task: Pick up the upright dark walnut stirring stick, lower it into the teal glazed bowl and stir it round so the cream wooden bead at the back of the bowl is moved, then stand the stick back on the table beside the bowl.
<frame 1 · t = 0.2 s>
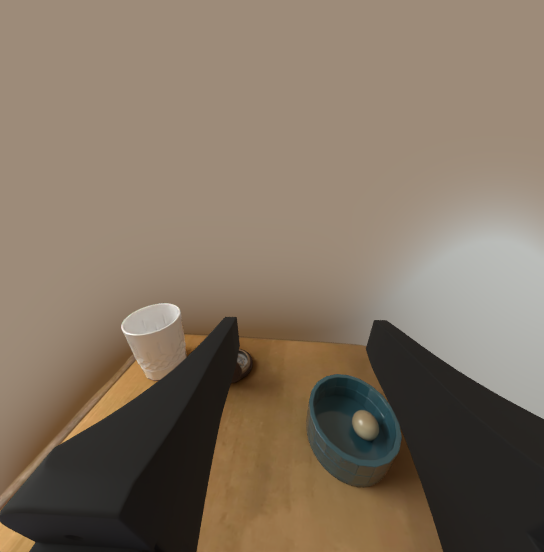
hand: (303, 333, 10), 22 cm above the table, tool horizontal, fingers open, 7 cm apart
bead: (362, 431, 25), point 1 cm above the table, touching bowl
white cup: (166, 364, 34), on the table
compass: (227, 369, 34), on the table
bowl: (345, 432, 25), on the table
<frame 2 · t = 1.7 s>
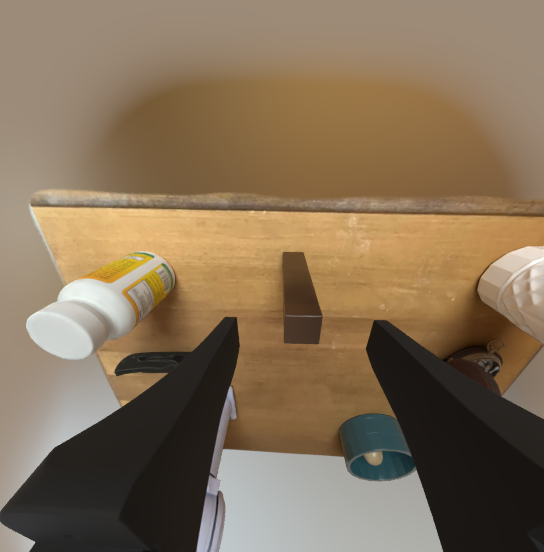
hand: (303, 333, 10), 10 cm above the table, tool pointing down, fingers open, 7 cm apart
bead: (368, 441, 33), point 1 cm above the table, touching bowl
folding knife: (163, 352, 26), on the table
white cup: (512, 276, 19), on the table
compass: (464, 355, 24), on the table
stirring stick: (292, 261, 20), on the table
bowl: (369, 430, 32), on the table
supplement bottle: (152, 272, 21), on the table
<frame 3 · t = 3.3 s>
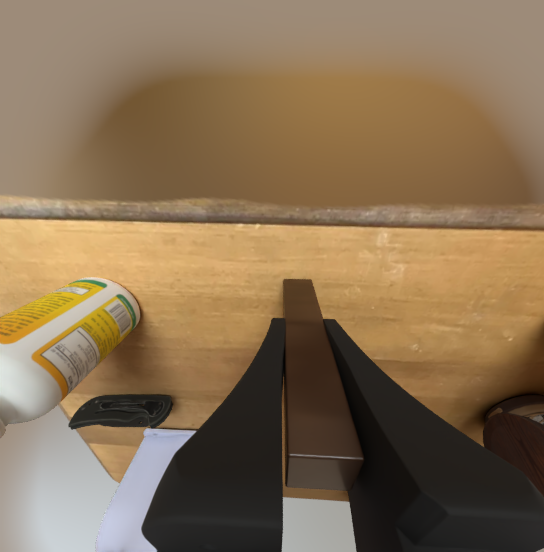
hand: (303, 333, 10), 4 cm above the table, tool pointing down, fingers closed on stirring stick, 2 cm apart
folding knife: (134, 394, 21), on the table
compass: (514, 402, 19), on the table
stirring stick: (296, 291, 14), on the table, touching gripper
supplement bottle: (110, 302, 16), on the table
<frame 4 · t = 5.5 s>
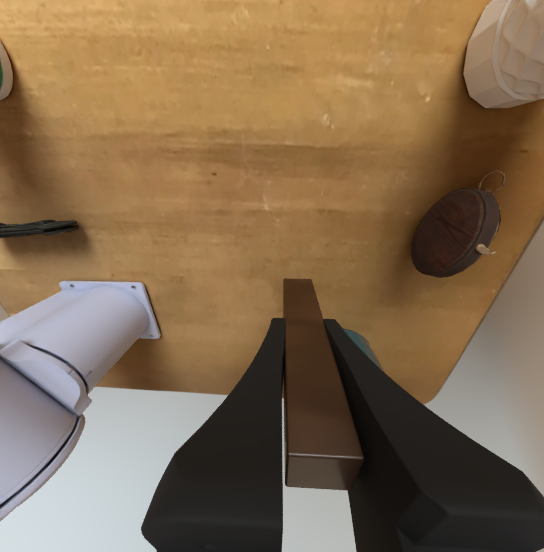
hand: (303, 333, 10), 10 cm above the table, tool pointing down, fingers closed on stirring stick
folding knife: (40, 225, 19), on the table
white cup: (517, 44, 13), on the table
compass: (448, 218, 18), on the table
stirring stick: (296, 290, 14), point 6 cm above the table, touching gripper
bowl: (331, 357, 26), on the table
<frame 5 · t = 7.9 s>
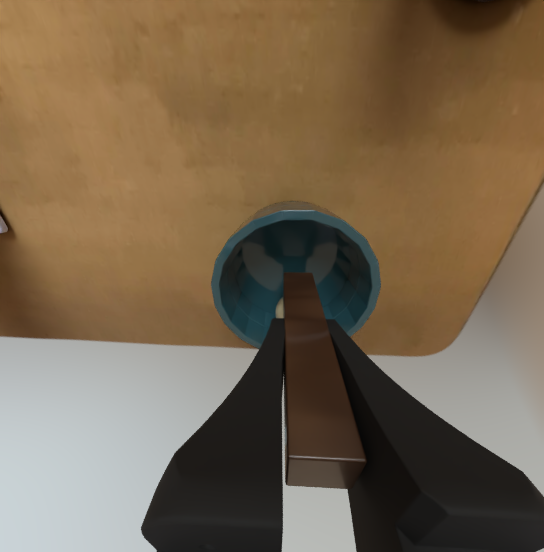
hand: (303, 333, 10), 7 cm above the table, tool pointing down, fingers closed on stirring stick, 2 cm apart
bead: (296, 294, 16), point 1 cm above the table, tilted 36°, touching bowl
stirring stick: (297, 284, 14), point 2 cm above the table, touching gripper
bowl: (290, 266, 16), on the table
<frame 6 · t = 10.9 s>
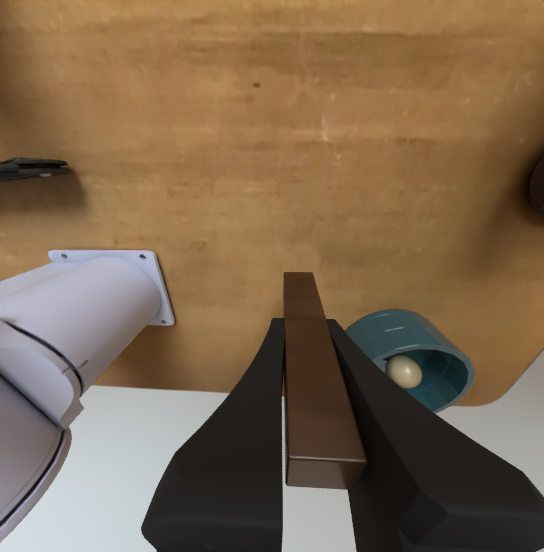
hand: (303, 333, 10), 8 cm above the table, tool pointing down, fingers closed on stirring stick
bead: (389, 368, 21), point 1 cm above the table, tilted 47°, touching bowl
folding knife: (20, 172, 15), on the table
stirring stick: (297, 284, 14), point 3 cm above the table, touching gripper
bowl: (384, 347, 21), on the table
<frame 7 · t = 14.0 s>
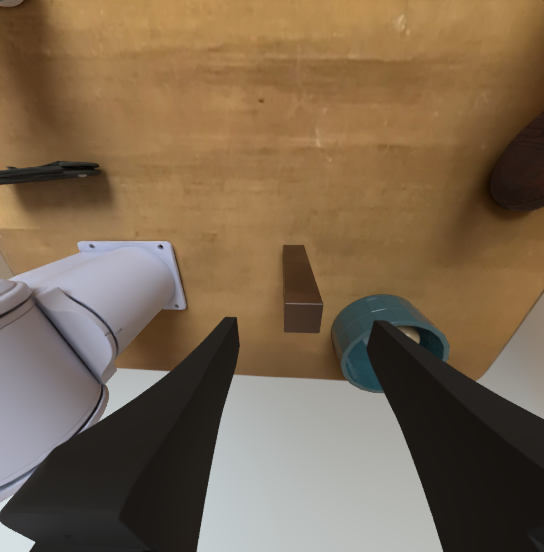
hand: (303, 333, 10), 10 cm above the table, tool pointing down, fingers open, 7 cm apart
bead: (399, 349, 20), point 3 cm above the table, tilted 132°, touching bowl
folding knife: (57, 173, 17), on the table
compass: (529, 153, 15), on the table
stirring stick: (293, 254, 19), on the table
bowl: (373, 329, 23), on the table
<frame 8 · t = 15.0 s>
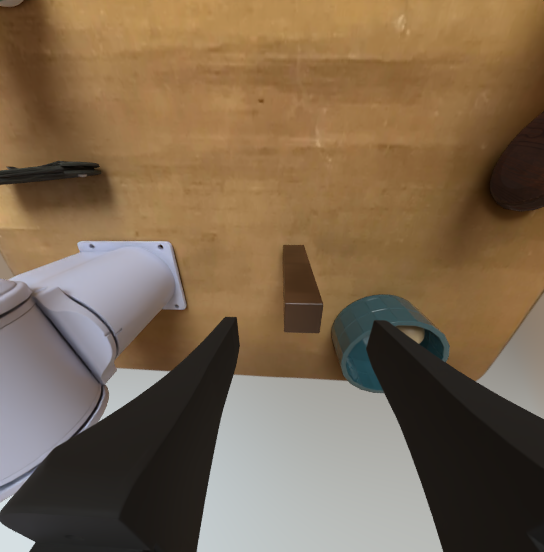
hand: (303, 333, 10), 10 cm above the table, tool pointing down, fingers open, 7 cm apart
bead: (410, 344, 19), point 3 cm above the table, tilted 159°, touching bowl
folding knife: (57, 173, 17), on the table
compass: (529, 153, 15), on the table
stirring stick: (293, 254, 19), on the table
bowl: (373, 329, 23), on the table
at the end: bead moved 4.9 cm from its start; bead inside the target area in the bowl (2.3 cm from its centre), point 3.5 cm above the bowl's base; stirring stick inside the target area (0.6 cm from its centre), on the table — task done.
